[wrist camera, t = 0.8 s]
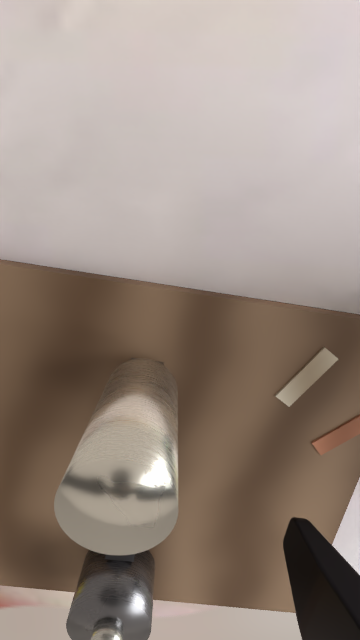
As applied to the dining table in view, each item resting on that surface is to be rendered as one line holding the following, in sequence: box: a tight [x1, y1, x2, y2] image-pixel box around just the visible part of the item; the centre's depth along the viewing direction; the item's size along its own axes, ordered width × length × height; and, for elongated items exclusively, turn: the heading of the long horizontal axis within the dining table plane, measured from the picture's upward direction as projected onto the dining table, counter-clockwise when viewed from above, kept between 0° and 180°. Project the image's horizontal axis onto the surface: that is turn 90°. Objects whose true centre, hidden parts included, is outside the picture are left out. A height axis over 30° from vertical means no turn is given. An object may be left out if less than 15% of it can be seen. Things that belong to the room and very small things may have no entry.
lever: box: [54, 358, 178, 640], centre depth 13 cm, size 17×4×7 cm, turn 171°
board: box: [0, 259, 360, 613], centre depth 17 cm, size 23×21×1 cm
